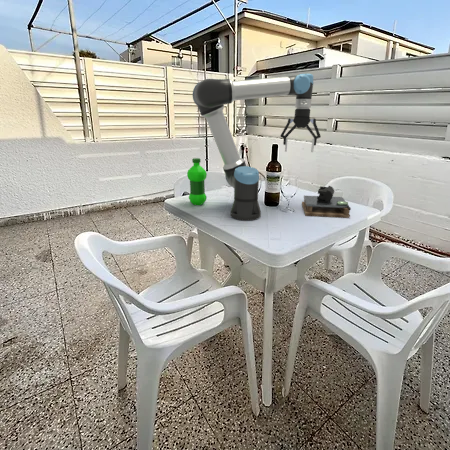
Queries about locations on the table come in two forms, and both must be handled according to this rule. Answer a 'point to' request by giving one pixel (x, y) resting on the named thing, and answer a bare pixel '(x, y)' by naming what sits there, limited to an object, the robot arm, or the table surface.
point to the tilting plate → (333, 202)
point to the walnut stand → (326, 211)
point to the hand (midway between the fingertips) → (298, 151)
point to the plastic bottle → (197, 183)
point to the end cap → (325, 194)
